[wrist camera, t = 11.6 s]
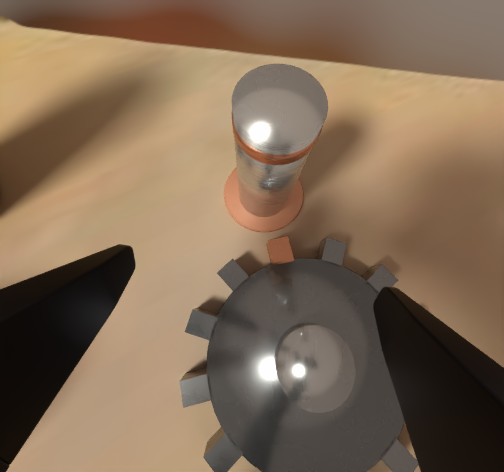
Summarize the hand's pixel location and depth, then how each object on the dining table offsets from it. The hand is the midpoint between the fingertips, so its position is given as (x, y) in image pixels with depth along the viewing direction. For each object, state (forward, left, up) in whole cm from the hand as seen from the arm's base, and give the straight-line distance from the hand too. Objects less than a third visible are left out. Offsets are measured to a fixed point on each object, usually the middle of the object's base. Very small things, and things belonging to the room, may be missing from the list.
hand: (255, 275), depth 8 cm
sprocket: (-5, -4, -11) cm, 13 cm away
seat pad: (+8, -2, -11) cm, 13 cm away
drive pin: (+8, -2, -10) cm, 13 cm away
